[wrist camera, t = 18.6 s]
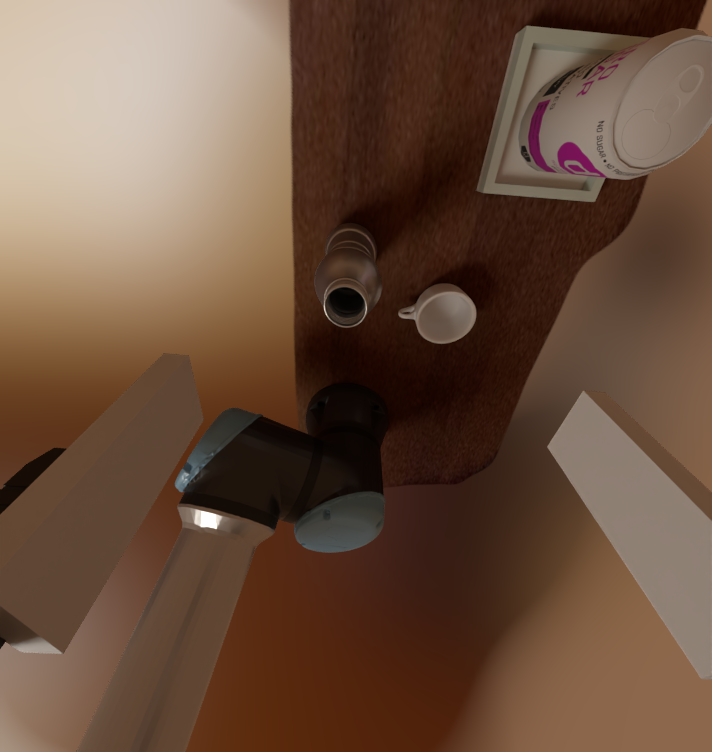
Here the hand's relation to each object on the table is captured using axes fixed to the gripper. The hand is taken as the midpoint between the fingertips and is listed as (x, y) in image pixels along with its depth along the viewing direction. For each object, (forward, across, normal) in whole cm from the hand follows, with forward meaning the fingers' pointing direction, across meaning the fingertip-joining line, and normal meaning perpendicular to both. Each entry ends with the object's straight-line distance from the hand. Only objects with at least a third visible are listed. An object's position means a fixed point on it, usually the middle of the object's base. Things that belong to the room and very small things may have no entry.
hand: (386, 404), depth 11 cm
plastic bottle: (+36, +2, +2) cm, 36 cm away
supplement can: (+34, -19, -12) cm, 41 cm away
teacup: (+36, -11, +9) cm, 38 cm away
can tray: (+35, -19, -12) cm, 42 cm away
